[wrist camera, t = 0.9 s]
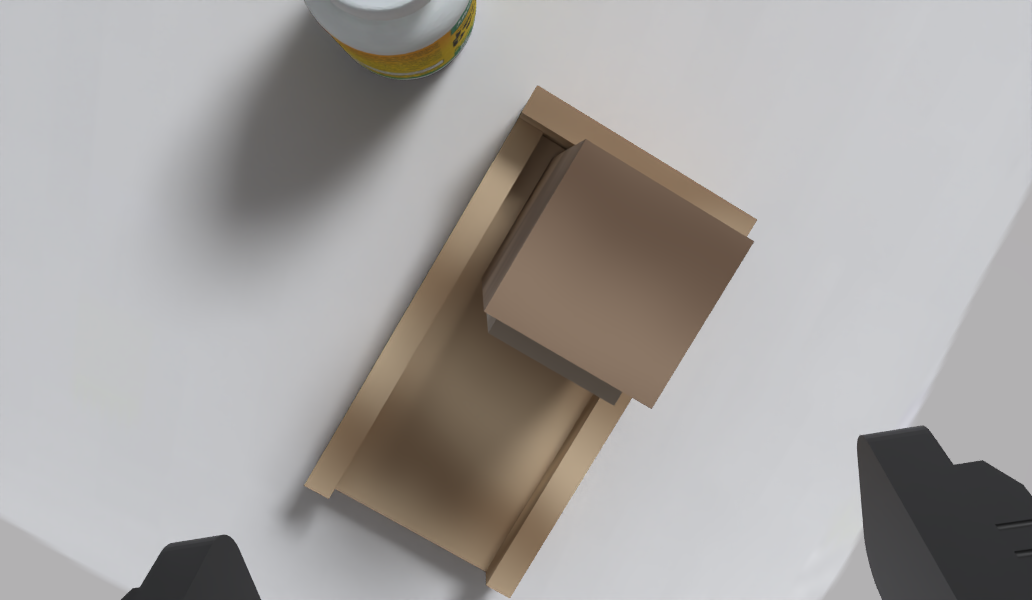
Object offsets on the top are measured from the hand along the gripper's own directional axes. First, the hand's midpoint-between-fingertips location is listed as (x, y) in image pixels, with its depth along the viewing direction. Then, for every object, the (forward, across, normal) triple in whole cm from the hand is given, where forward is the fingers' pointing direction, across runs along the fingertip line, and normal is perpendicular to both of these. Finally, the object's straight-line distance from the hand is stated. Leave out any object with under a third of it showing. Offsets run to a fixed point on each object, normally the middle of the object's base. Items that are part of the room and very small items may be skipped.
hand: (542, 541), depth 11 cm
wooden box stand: (+22, +3, +8) cm, 23 cm away
